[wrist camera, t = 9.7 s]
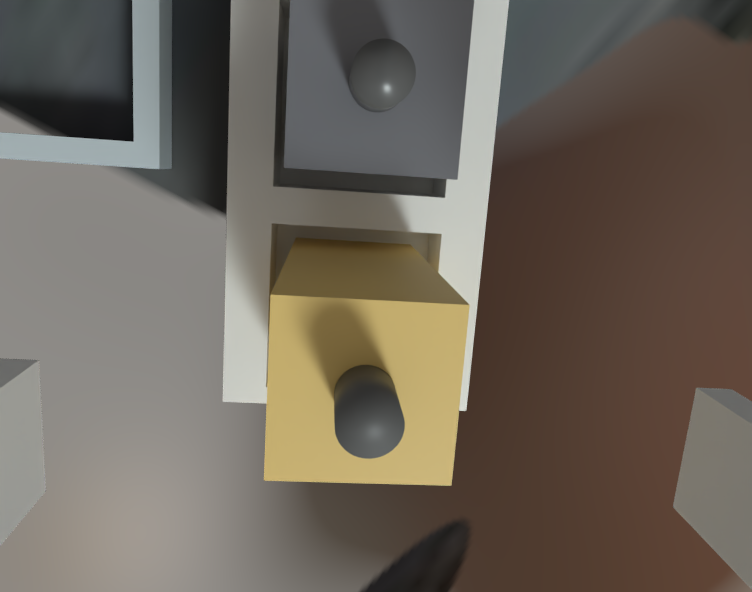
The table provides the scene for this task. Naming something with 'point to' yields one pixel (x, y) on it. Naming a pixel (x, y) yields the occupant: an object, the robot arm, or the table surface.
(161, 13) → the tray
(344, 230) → the strip
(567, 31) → the table surface
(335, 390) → the plug
